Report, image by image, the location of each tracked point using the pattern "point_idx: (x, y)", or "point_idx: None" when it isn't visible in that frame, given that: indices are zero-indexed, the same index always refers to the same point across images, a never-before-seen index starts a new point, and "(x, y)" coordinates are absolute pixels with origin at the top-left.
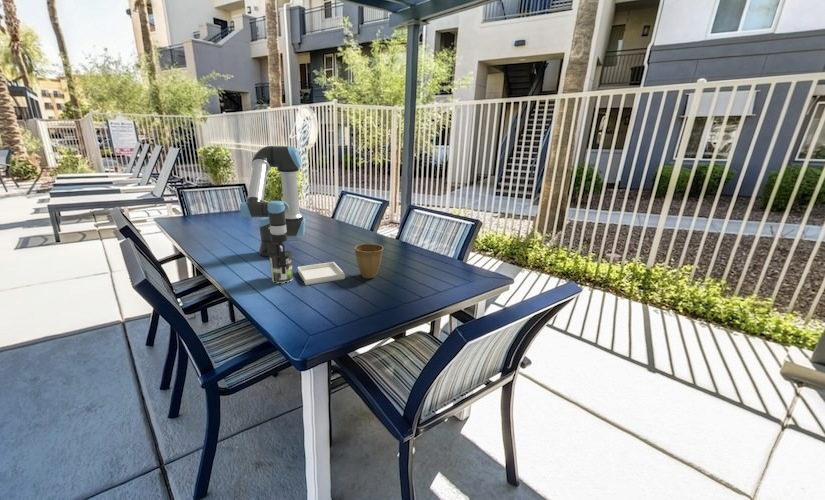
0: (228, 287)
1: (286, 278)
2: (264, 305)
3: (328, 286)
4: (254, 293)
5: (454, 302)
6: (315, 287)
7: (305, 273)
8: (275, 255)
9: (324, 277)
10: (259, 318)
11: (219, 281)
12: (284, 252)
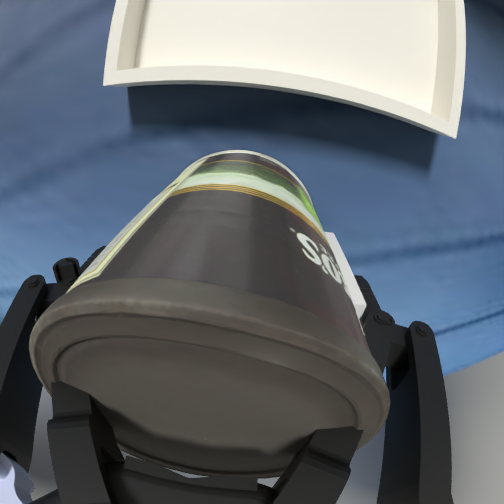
0: None
1: (333, 239)
2: (452, 345)
3: (492, 49)
4: None
5: None
6: (477, 105)
7: (220, 39)
8: (252, 464)
9: (461, 12)
10: (487, 354)
11: None
12: (448, 484)
